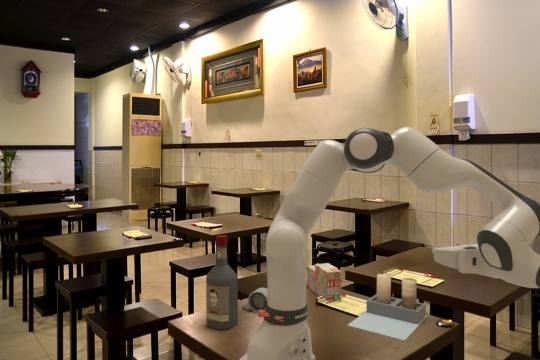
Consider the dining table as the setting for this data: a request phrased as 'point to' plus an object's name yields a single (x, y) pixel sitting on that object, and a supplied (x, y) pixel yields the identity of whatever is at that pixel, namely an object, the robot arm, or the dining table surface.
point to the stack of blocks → (325, 281)
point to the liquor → (221, 290)
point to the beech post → (409, 293)
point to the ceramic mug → (257, 300)
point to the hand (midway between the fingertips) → (445, 248)
